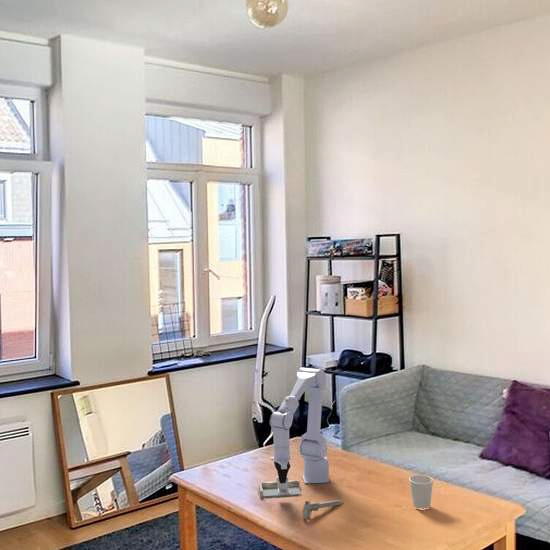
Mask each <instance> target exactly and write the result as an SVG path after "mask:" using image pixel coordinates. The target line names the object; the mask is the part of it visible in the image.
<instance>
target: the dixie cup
mask: <svg viewBox="0 0 550 550" xmlns="http://www.w3.org/2000/svg"><path fill="white" fill-rule="evenodd" d="M408 480H409V485H410V492H411V499H412V507H413V506H414V507H416V508H423V509H424V508H428V507H430V508H431V505H432V504H431V502H432V495H433V494H432V492H433V483H434V481H435V479H434V478H433V477H431V476H429V475H425V474H415V475H411V476H410V477H409V478H408ZM414 507H413V508H414Z"/></svg>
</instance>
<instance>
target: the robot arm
mask: <svg viewBox="0 0 550 550" xmlns="http://www.w3.org/2000/svg"><path fill="white" fill-rule="evenodd" d="M326 374H327V373H326V372H325V371H324V369H323V368H311V367H310V368H309V367H303V366H301V367H300V368H299V369H298V370H297V373H296V376H295V377H296V382H295V384H294V386H293V388H292V391H291V392H290V395H287V396H285V397H284V399H283V401H282V403H281V404H280V406H279V408H278V409H277V410H276V411H274V412H273V413H272V414H271V415H270V418H269V419H270V420H269V425H270V427H271V432H272V434H273V456H271V457H270V461H273V464H274V467H275V470H276V472H277V476H278V477H279V481H280V484H281V483H286V480H287V476H288V474H289V470H290V469H291V463H290V460H291V451H290V450H291V449H290V428H291V427H292V424H293V421H294V414H295V412H296V411H297V409H298V407H299V406H300V402H299V400H300V398H301V397H302V395H303V394H304V393H305V392H306V390H307V391H308V392H309V397H308V410H307V411H308V413H307V425H306V426H307V427H306V432H305V433H304V434H302V435H301V436H300V442H299V445H298V450H299V453H300V455H301V456H302V458H303V470H304V475H302V480H303V482H304V484H306V485H307V484H325V483H330V476H329V475H330V471H329V466H330V465H329V459H328V456H326V455H327V453H328V445H327V438H326V436H324V435H323V434H322V433H321V426H322V425H321V424H322V409H323V391H324V390H326V382H327V381H326V380H327V375H326Z"/></svg>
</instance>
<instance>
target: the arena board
mask: <svg viewBox="0 0 550 550" xmlns="http://www.w3.org/2000/svg"><path fill="white" fill-rule="evenodd" d="M262 489H263V497H267V498H280V497H295V496H296V497H298V496H299V495H301V496H302V493H301V490H300V487H298V486H289V490H290V495H279V494H278V490H277V487H272V488H262Z"/></svg>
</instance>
